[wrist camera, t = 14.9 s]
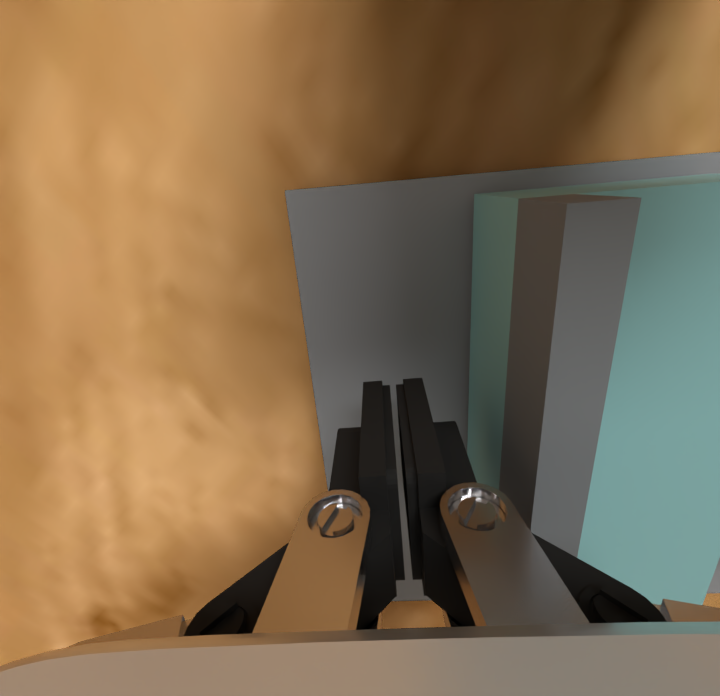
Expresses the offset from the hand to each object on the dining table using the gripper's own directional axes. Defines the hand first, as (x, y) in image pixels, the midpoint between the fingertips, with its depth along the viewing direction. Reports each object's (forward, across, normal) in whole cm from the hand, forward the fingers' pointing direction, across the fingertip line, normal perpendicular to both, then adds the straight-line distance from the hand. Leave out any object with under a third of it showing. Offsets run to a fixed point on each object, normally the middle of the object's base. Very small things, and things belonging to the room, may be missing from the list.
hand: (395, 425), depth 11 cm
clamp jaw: (+2, -5, 0) cm, 6 cm away
